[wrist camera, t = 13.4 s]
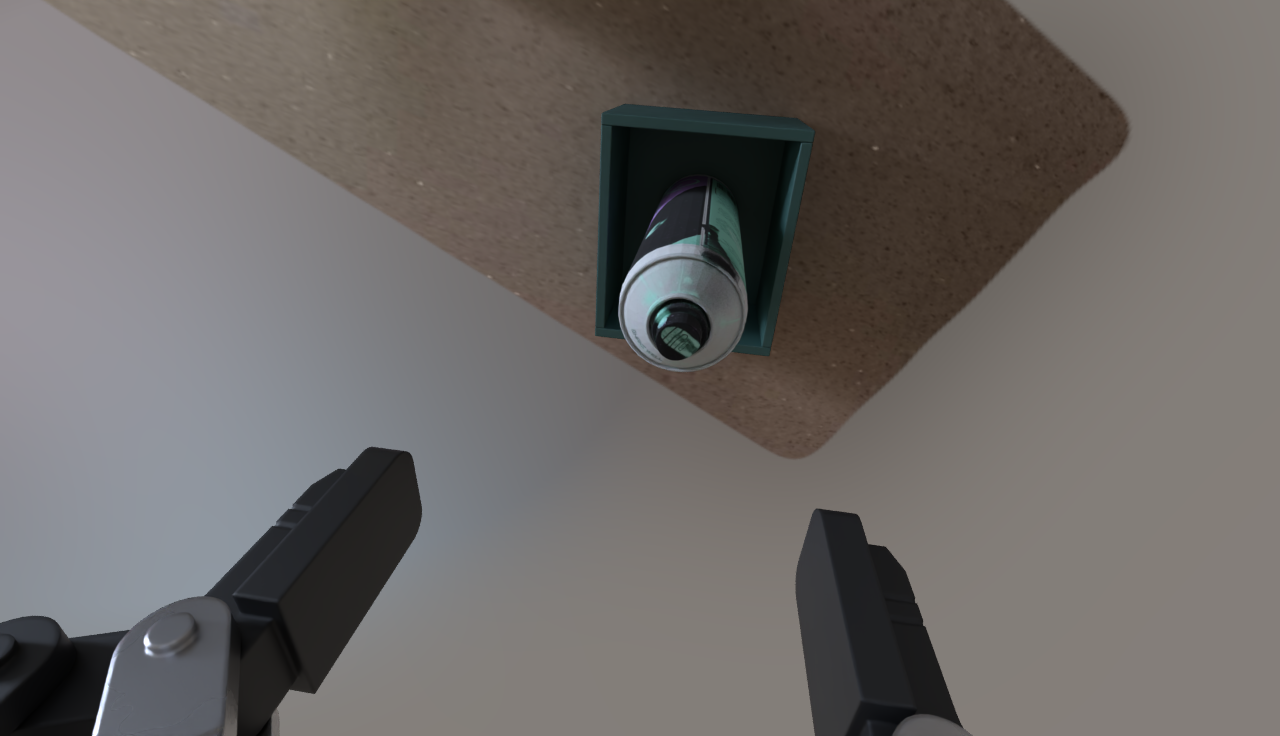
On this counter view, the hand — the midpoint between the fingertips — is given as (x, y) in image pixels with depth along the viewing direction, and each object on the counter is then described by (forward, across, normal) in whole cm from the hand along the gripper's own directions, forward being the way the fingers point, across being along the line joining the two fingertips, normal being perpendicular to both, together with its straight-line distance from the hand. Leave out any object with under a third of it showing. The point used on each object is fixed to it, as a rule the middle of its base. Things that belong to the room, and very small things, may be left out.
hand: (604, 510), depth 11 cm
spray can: (+31, -1, +2) cm, 31 cm away
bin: (+31, -1, +2) cm, 31 cm away
